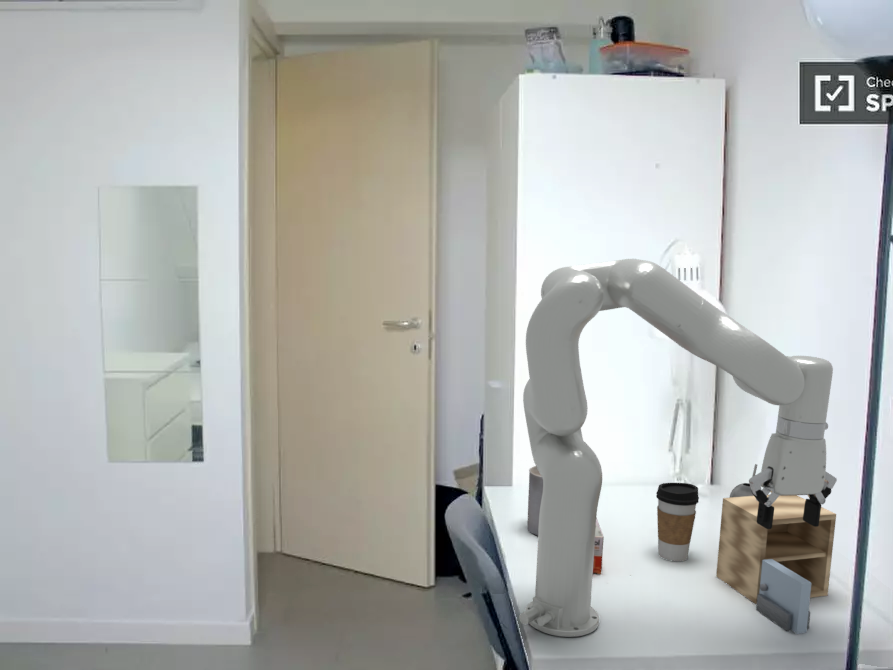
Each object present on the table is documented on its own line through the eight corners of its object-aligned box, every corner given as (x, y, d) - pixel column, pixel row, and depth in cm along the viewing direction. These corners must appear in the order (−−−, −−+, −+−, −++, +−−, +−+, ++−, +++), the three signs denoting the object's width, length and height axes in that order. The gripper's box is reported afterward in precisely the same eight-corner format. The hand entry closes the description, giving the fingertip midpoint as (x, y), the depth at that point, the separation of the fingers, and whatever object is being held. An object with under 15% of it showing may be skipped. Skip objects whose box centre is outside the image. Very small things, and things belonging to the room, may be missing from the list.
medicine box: (602, 575, 159) (604, 536, 158) (560, 573, 160) (562, 534, 158) (591, 545, 174) (594, 509, 173) (553, 543, 175) (555, 507, 173)
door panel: (806, 632, 139) (811, 582, 138) (792, 634, 139) (797, 584, 137) (767, 605, 149) (771, 558, 148) (754, 607, 148) (758, 560, 147)
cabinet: (827, 595, 154) (836, 514, 152) (755, 604, 149) (763, 520, 147) (784, 569, 165) (791, 492, 163) (716, 576, 160) (722, 498, 158)
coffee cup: (695, 566, 165) (701, 494, 163) (652, 561, 167) (658, 490, 164) (692, 550, 173) (697, 482, 171) (651, 545, 175) (656, 478, 173)
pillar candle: (569, 523, 186) (572, 459, 184) (571, 540, 176) (574, 472, 174) (526, 521, 187) (529, 457, 185) (526, 537, 177) (529, 470, 175)
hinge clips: (808, 628, 141) (810, 612, 140) (786, 631, 139) (788, 614, 139) (777, 607, 148) (779, 591, 148) (756, 609, 147) (757, 594, 147)
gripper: (825, 423, 145) (812, 515, 148) (743, 423, 140) (731, 519, 142) (858, 434, 138) (844, 531, 140) (772, 435, 133) (759, 535, 135)
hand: (787, 524), depth 141 cm, fingers open, 9 cm apart
